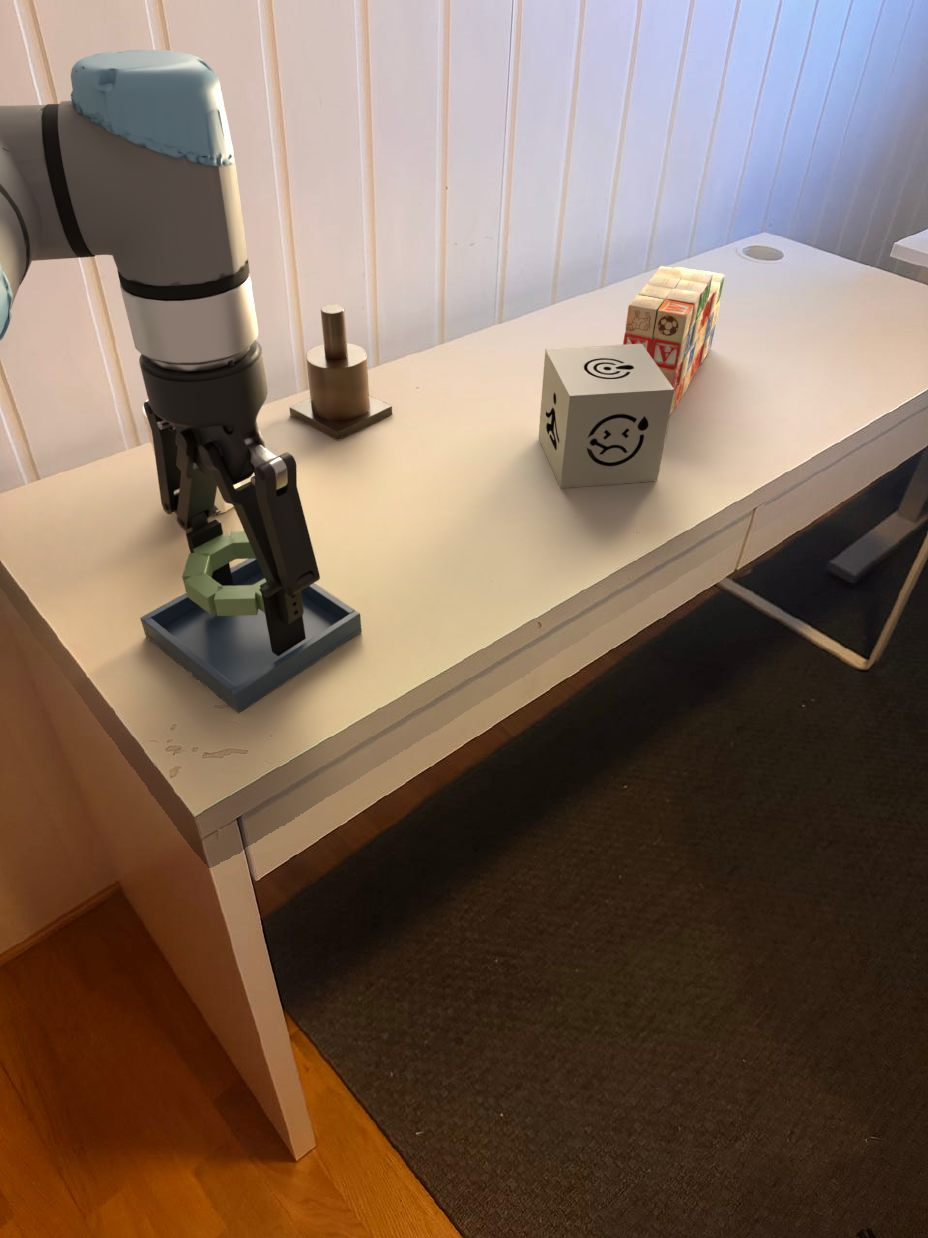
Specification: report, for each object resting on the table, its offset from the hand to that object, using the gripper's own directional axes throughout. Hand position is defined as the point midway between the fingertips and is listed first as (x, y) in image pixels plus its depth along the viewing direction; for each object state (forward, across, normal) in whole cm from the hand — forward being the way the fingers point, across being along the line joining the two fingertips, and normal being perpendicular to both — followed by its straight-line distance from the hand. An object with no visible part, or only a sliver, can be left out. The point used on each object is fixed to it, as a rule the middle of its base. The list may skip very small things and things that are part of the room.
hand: (252, 618), depth 71 cm
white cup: (+2, +19, -9) cm, 21 cm away
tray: (+2, 0, 0) cm, 2 cm away
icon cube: (+2, -4, -41) cm, 41 cm away
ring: (-4, 0, 0) cm, 4 cm away
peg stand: (+2, +22, -29) cm, 36 cm away
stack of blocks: (+2, +1, -62) cm, 62 cm away
